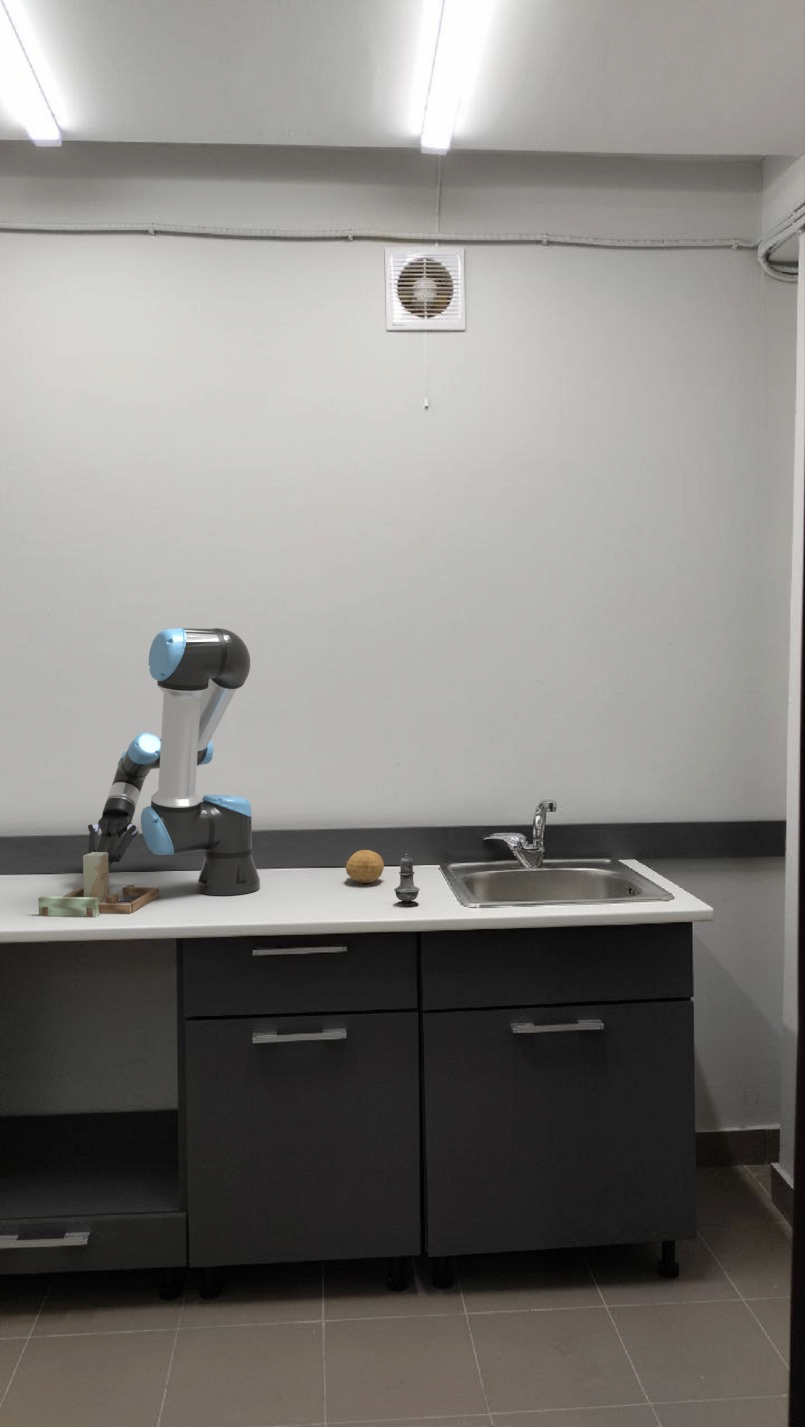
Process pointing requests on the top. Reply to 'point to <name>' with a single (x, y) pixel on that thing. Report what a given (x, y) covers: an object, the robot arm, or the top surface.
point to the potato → (365, 866)
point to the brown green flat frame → (96, 902)
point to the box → (96, 875)
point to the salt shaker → (406, 884)
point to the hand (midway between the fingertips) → (95, 885)
